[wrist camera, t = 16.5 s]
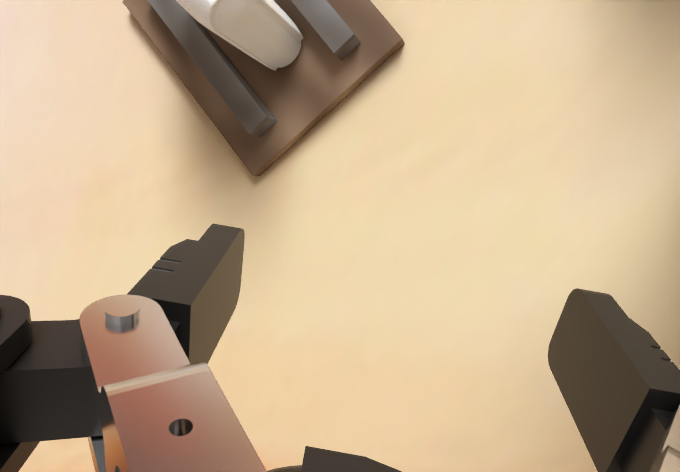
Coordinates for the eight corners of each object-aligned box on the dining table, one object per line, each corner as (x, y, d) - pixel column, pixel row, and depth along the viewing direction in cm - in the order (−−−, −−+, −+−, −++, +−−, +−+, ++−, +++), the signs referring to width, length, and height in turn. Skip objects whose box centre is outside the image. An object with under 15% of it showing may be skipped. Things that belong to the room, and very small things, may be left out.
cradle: (255, -134, 42) (237, -161, 39) (404, 43, 39) (397, 29, 36) (131, 6, 46) (106, -8, 43) (259, 176, 43) (241, 173, 40)
